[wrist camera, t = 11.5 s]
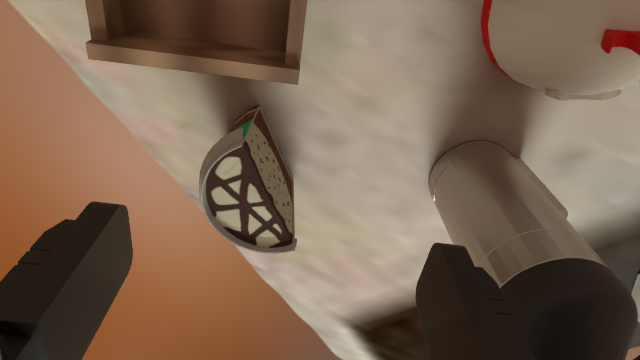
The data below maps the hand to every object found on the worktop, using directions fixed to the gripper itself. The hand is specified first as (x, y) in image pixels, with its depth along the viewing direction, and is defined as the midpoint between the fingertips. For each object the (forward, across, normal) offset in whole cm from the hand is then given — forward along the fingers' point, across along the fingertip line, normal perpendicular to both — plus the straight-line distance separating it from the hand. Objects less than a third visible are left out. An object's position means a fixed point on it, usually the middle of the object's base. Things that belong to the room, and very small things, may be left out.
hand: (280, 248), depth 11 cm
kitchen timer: (+30, -22, -5) cm, 37 cm away
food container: (+29, +4, +14) cm, 32 cm away
